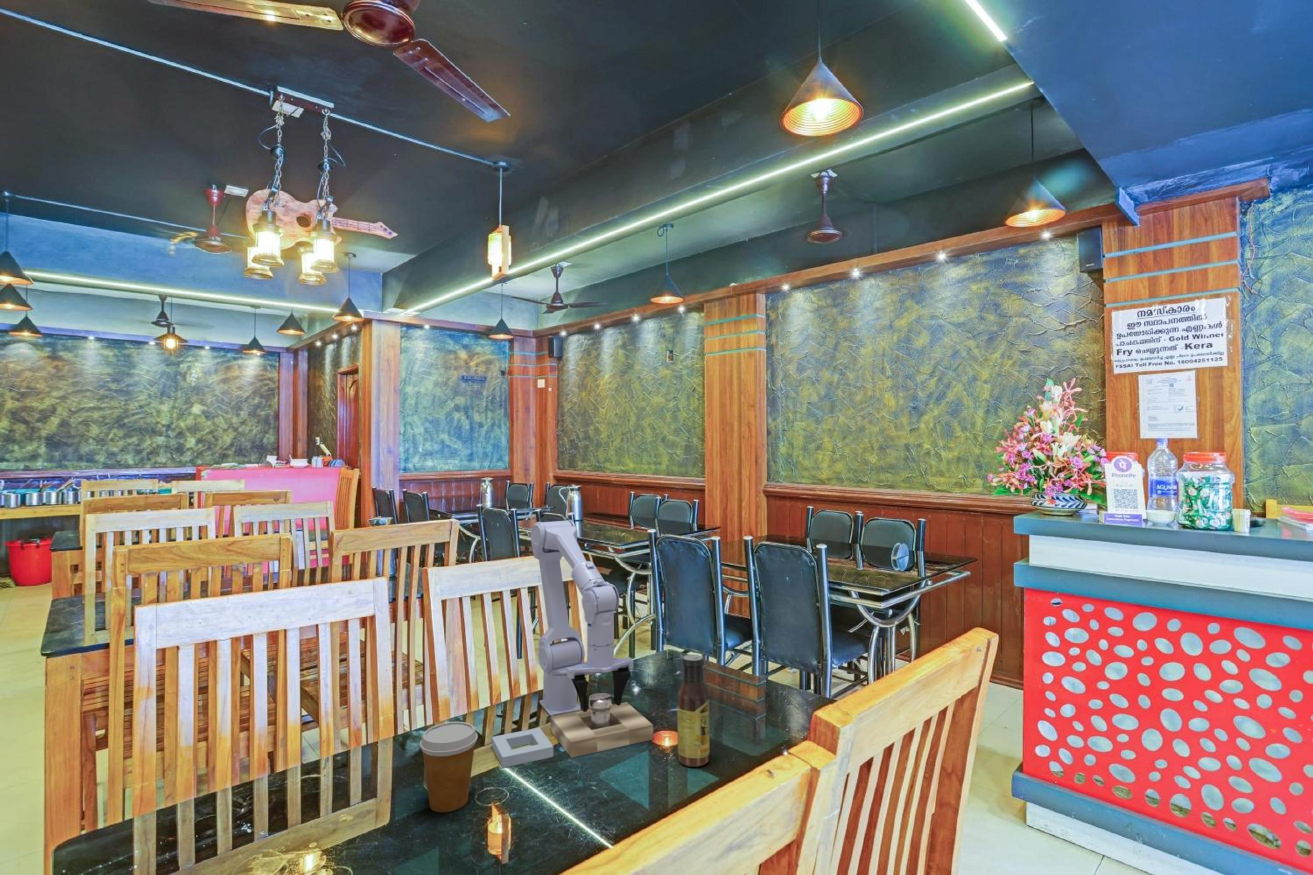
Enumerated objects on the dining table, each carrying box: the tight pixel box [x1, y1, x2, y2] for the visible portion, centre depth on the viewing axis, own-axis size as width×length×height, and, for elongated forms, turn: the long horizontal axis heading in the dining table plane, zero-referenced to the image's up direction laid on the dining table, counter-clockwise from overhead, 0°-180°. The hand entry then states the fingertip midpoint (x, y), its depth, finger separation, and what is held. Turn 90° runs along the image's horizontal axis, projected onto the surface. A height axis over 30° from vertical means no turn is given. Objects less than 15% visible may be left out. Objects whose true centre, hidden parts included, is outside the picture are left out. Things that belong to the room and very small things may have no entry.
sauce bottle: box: [676, 654, 711, 768], centre depth 124 cm, size 7×6×20 cm
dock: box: [550, 701, 654, 758], centre depth 135 cm, size 14×18×3 cm
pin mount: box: [491, 727, 554, 769], centre depth 128 cm, size 10×10×2 cm
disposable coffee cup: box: [419, 721, 479, 813], centre depth 109 cm, size 10×10×12 cm
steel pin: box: [588, 692, 613, 730], centre depth 135 cm, size 5×5×8 cm
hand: (600, 706), depth 136 cm, fingers open, 7 cm apart
